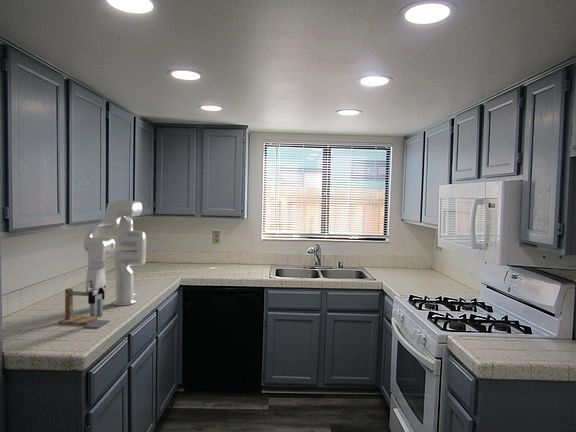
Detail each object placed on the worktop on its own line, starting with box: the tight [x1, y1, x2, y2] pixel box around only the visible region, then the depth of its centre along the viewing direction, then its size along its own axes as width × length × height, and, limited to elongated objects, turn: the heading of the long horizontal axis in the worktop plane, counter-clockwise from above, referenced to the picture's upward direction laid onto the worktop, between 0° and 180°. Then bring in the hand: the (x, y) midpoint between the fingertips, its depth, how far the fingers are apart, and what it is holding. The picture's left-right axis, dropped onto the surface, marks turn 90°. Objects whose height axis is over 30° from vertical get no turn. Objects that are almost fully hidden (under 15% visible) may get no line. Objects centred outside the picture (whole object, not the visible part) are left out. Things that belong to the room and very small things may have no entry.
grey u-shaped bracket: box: [89, 292, 104, 318], centre depth 204 cm, size 8×2×11 cm, turn 175°
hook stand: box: [58, 288, 99, 326], centre depth 208 cm, size 14×10×16 cm
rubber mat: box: [82, 319, 110, 329], centre depth 204 cm, size 11×8×1 cm
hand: (96, 301), depth 204 cm, fingers closed on grey u-shaped bracket, 7 cm apart
